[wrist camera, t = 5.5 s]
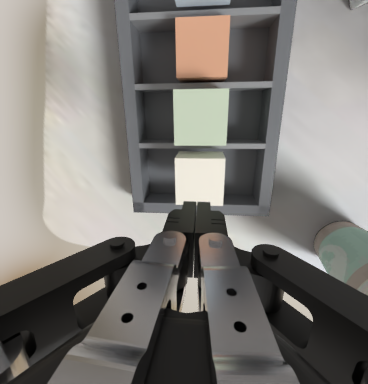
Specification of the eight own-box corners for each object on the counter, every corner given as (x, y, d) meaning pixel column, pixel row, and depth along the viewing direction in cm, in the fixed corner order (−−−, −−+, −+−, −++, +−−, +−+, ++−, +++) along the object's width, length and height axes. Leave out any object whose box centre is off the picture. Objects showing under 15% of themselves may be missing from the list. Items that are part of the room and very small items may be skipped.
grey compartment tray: (293, -81, 19) (312, -122, 16) (261, 203, 28) (268, 216, 25) (121, -68, 20) (104, -103, 17) (142, 200, 29) (133, 212, 26)
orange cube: (226, 30, 21) (230, 14, 18) (224, 81, 23) (227, 76, 19) (179, 31, 22) (175, 17, 18) (180, 82, 23) (176, 77, 20)
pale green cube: (225, 91, 21) (229, 88, 18) (223, 140, 22) (226, 145, 19) (178, 92, 21) (173, 89, 18) (178, 140, 23) (174, 145, 19)
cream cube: (222, 151, 23) (225, 158, 19) (220, 192, 24) (223, 205, 21) (179, 151, 23) (174, 158, 20) (179, 191, 25) (175, 204, 21)
